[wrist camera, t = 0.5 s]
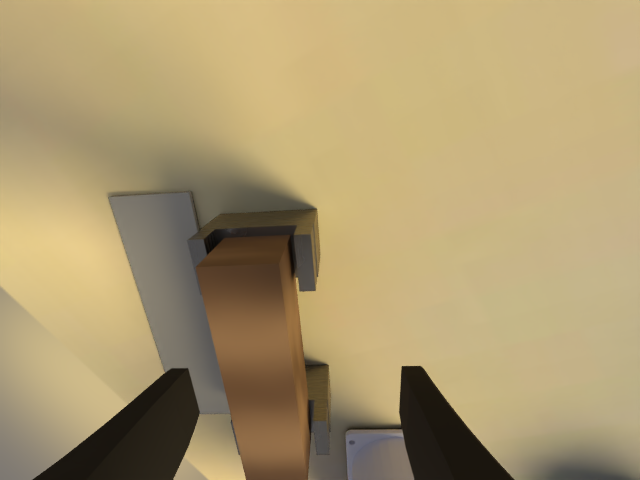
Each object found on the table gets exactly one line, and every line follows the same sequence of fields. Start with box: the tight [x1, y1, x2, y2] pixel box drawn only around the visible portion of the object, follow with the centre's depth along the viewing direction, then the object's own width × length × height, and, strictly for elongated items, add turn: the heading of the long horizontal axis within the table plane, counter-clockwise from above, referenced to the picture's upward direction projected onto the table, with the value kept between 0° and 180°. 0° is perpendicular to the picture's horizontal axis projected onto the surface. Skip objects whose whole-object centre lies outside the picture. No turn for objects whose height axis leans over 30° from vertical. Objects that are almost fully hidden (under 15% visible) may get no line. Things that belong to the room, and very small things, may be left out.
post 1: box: [187, 209, 320, 295], centre depth 16 cm, size 3×6×4 cm, turn 94°
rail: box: [195, 235, 312, 480], centre depth 16 cm, size 14×4×4 cm, turn 4°
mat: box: [108, 192, 230, 414], centre depth 21 cm, size 18×5×1 cm, turn 4°
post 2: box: [231, 365, 331, 455], centre depth 21 cm, size 3×6×4 cm, turn 94°
